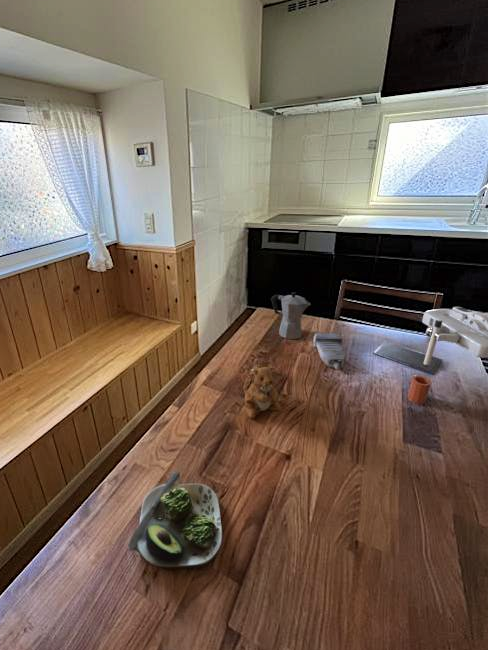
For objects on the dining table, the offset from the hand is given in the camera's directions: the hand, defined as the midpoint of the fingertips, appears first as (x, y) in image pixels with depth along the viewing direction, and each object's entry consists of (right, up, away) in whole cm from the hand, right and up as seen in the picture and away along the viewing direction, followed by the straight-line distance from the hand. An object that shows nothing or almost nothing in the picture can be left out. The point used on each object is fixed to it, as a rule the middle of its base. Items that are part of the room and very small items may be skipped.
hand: (432, 334), depth 90 cm
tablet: (+10, -11, +26) cm, 29 cm away
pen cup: (0, -20, +7) cm, 21 cm away
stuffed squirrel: (-45, -21, +10) cm, 50 cm away
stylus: (+1, -10, +4) cm, 11 cm away
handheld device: (-15, -11, +29) cm, 34 cm away
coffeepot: (-25, -4, +45) cm, 52 cm away
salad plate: (-68, -37, -23) cm, 80 cm away
